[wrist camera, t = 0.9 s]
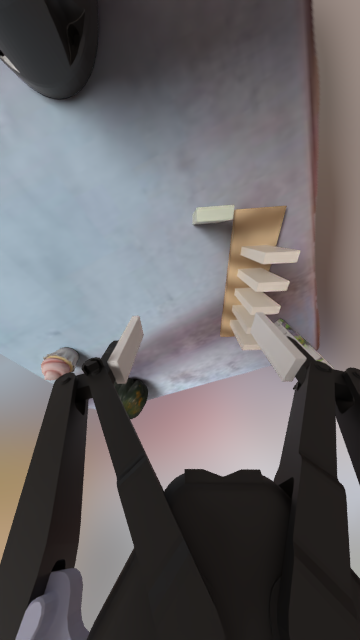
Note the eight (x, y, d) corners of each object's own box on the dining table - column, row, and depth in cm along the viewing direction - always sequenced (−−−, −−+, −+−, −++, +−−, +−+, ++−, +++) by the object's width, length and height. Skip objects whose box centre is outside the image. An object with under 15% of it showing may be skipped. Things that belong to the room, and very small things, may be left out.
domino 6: (230, 320, 39) (243, 344, 30) (248, 319, 39) (267, 344, 30) (229, 324, 40) (242, 350, 31) (247, 324, 40) (265, 349, 31)
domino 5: (232, 305, 36) (247, 327, 28) (252, 304, 36) (273, 326, 28) (231, 310, 37) (246, 334, 29) (251, 309, 37) (271, 333, 29)
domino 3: (238, 269, 32) (258, 282, 23) (261, 267, 32) (289, 281, 23) (237, 276, 33) (256, 292, 24) (259, 275, 32) (286, 290, 24)
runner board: (234, 210, 27) (236, 209, 26) (282, 206, 27) (286, 205, 26) (220, 334, 43) (220, 336, 42) (250, 333, 43) (251, 335, 42)
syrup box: (291, 327, 41) (337, 368, 29) (273, 340, 44) (309, 382, 32) (280, 317, 40) (323, 356, 27) (262, 331, 42) (294, 372, 30)
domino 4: (235, 288, 34) (252, 307, 26) (256, 287, 34) (281, 306, 25) (234, 294, 35) (250, 315, 26) (254, 293, 35) (278, 313, 26)
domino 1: (192, 214, 28) (196, 207, 19) (218, 212, 27) (234, 204, 19) (192, 224, 28) (196, 222, 20) (217, 222, 28) (232, 219, 20)
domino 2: (241, 246, 29) (265, 252, 21) (266, 244, 29) (300, 250, 21) (240, 254, 30) (262, 264, 22) (264, 253, 30) (296, 262, 22)
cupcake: (51, 341, 46) (21, 366, 37) (81, 345, 46) (58, 371, 38) (58, 360, 51) (33, 387, 42) (85, 364, 51) (66, 391, 43)
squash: (156, 406, 56) (133, 430, 42) (125, 412, 60) (94, 435, 45) (148, 370, 59) (124, 380, 44) (119, 377, 62) (88, 389, 48)
